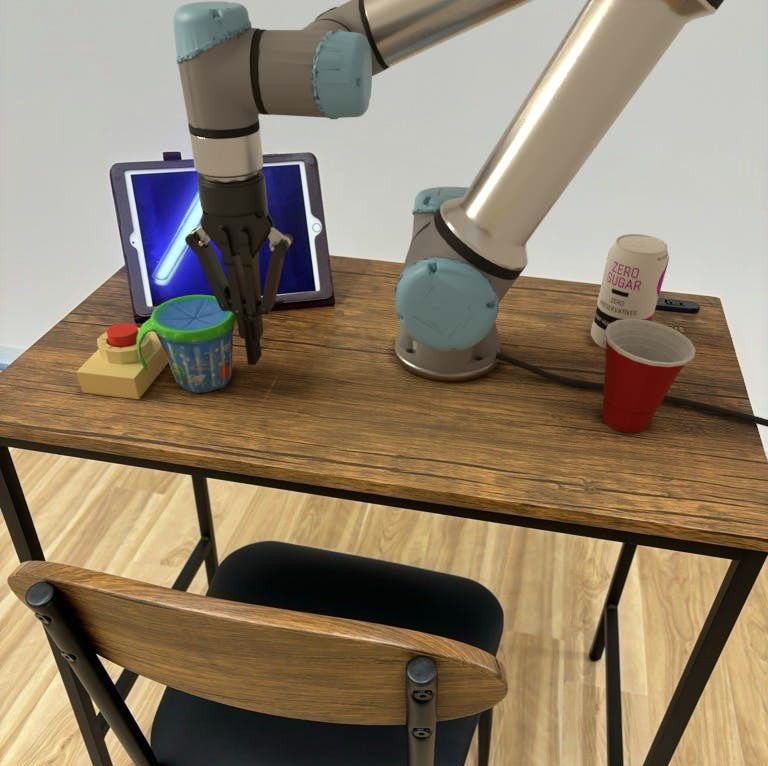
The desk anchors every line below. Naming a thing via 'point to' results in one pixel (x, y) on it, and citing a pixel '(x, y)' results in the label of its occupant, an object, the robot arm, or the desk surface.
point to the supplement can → (630, 282)
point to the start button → (122, 335)
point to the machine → (122, 368)
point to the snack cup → (194, 341)
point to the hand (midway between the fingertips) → (254, 359)
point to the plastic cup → (640, 370)
